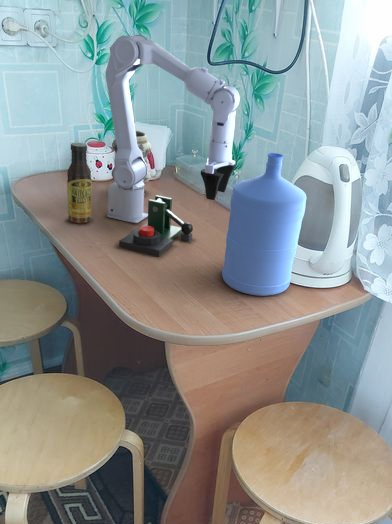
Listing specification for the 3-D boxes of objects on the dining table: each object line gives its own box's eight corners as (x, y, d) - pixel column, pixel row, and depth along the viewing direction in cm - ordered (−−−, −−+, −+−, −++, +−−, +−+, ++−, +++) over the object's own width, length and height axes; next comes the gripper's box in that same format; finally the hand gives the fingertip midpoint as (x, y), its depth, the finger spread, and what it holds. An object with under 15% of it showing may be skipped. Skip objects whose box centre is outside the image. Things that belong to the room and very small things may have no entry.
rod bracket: (182, 232, 139) (185, 198, 134) (168, 243, 132) (170, 208, 127) (149, 224, 142) (150, 191, 137) (134, 235, 135) (134, 200, 130)
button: (136, 235, 127) (136, 228, 126) (143, 231, 129) (143, 224, 128) (149, 238, 126) (150, 232, 125) (156, 234, 128) (156, 227, 127)
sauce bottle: (71, 225, 137) (67, 147, 125) (65, 217, 141) (60, 141, 130) (95, 223, 139) (93, 146, 128) (88, 215, 144) (85, 140, 133)
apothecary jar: (148, 200, 158) (150, 139, 148) (108, 197, 158) (108, 135, 147) (151, 188, 168) (153, 130, 158) (114, 185, 168) (114, 126, 157)
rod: (190, 234, 135) (196, 226, 133) (186, 238, 133) (192, 229, 131) (155, 205, 135) (161, 196, 133) (150, 208, 132) (156, 199, 131)
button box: (119, 247, 128) (119, 233, 126) (134, 236, 134) (134, 223, 132) (159, 257, 125) (159, 243, 123) (172, 245, 131) (173, 232, 129)
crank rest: (180, 240, 134) (180, 234, 133) (183, 237, 136) (183, 231, 135) (188, 242, 134) (189, 236, 133) (191, 239, 135) (192, 233, 134)
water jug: (271, 305, 109) (297, 171, 94) (208, 282, 116) (222, 153, 100) (299, 279, 121) (326, 156, 105) (241, 260, 127) (258, 141, 111)
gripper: (227, 149, 120) (220, 206, 128) (245, 138, 131) (238, 191, 139) (199, 144, 122) (194, 200, 130) (219, 133, 133) (214, 186, 141)
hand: (215, 195), depth 135 cm, fingers open, 7 cm apart
